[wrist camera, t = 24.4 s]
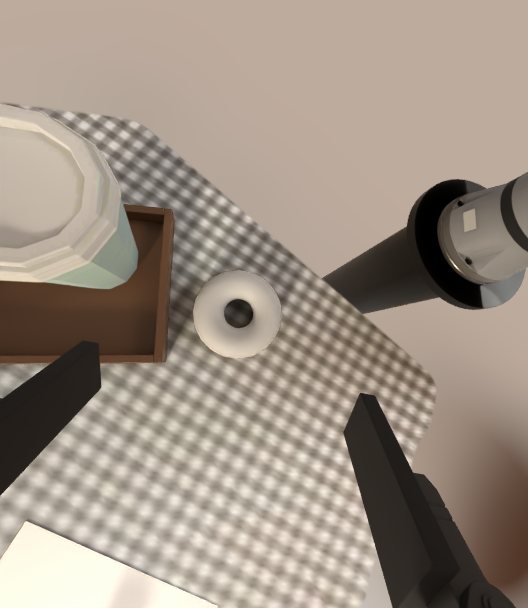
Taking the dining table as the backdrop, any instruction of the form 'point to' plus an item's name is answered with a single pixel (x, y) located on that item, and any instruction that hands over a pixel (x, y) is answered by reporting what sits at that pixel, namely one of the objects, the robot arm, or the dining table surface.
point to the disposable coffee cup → (59, 206)
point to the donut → (215, 326)
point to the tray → (96, 306)
